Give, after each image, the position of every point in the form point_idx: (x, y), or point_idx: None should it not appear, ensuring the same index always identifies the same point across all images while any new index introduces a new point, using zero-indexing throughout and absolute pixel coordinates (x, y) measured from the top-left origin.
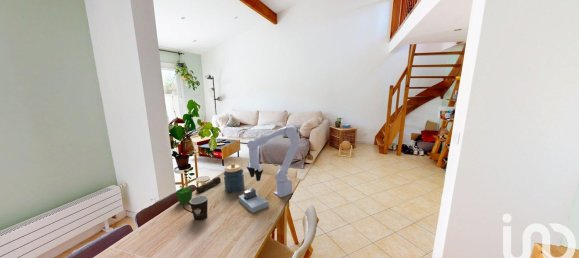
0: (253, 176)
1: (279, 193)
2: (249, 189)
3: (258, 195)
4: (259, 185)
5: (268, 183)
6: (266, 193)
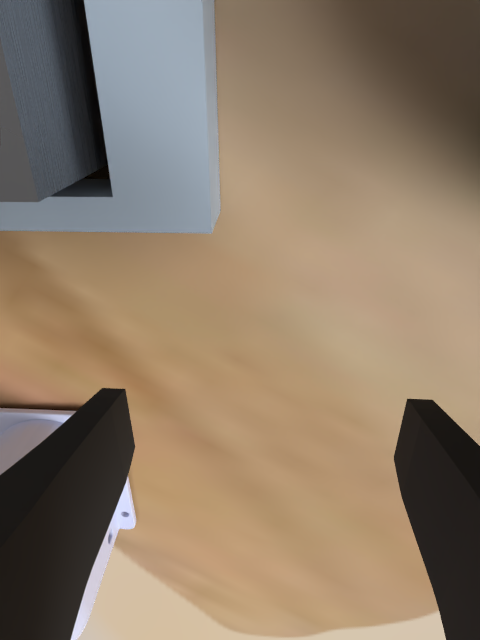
0: (400, 452)
1: (7, 436)
2: (6, 95)
3: (7, 215)
4: None
5: (369, 485)
6: (159, 354)
